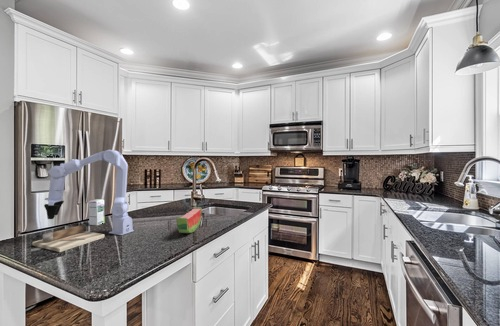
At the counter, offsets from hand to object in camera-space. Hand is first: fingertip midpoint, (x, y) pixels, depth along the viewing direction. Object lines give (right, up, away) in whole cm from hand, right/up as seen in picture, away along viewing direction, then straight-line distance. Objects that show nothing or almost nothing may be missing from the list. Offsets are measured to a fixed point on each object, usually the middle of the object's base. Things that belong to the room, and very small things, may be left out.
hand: (52, 216), depth 119 cm
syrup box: (+7, -10, +24) cm, 27 cm away
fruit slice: (+66, -10, +12) cm, 68 cm away
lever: (+9, -8, -3) cm, 13 cm away
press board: (+13, -10, -5) cm, 17 cm away
